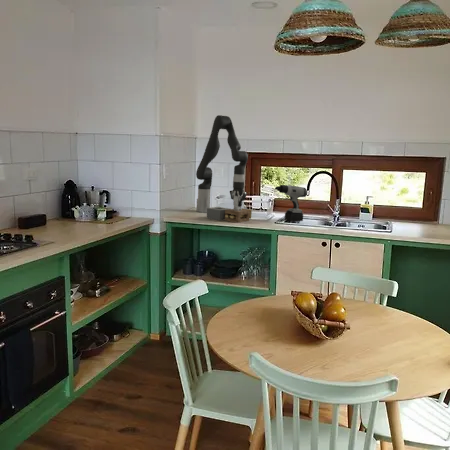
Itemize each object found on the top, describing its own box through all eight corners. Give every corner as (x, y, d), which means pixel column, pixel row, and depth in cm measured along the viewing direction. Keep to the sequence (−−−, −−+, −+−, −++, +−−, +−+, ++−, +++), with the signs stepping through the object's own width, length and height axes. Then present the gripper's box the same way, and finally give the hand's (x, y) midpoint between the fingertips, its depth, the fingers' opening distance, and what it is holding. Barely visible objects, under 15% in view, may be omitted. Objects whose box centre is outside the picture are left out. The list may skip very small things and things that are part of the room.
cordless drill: (271, 219, 336) (273, 184, 332) (300, 218, 346) (302, 184, 342) (276, 221, 329) (279, 185, 325) (306, 220, 340) (309, 185, 335)
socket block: (235, 218, 336) (236, 208, 335) (249, 220, 328) (249, 210, 327) (224, 220, 327) (224, 209, 326) (238, 222, 319) (238, 212, 318)
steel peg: (233, 218, 327) (234, 196, 324) (236, 217, 330) (237, 195, 327) (237, 218, 325) (238, 196, 322) (240, 218, 327) (241, 196, 325)
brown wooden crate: (242, 216, 338) (242, 208, 337) (251, 218, 333) (251, 209, 332) (224, 219, 323) (224, 210, 322) (233, 221, 318) (233, 212, 317)
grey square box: (206, 218, 332) (206, 208, 331) (218, 216, 341) (218, 206, 340) (219, 220, 324) (219, 210, 323) (231, 218, 333) (231, 208, 332)
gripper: (250, 181, 321) (249, 207, 324) (234, 179, 330) (233, 204, 333) (243, 182, 315) (242, 208, 319) (227, 180, 325) (225, 205, 328)
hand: (237, 206), depth 326 cm, fingers closed on steel peg, 3 cm apart
